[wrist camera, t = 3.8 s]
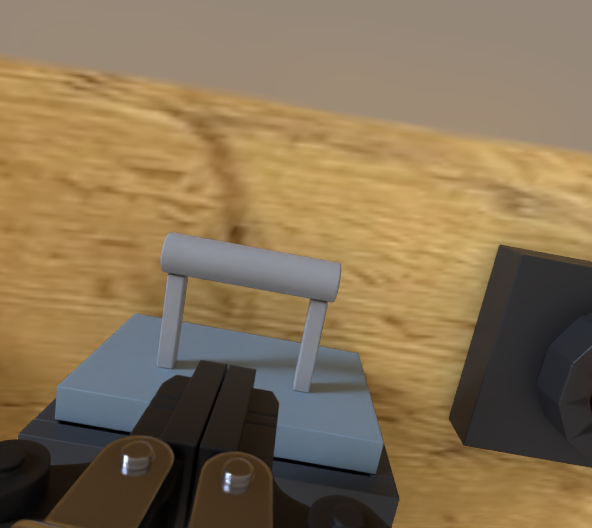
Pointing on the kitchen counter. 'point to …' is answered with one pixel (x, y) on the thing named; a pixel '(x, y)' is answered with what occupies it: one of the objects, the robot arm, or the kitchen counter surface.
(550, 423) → the control block
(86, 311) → the kitchen counter surface
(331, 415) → the drawer
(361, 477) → the drawer housing
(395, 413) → the kitchen counter surface
